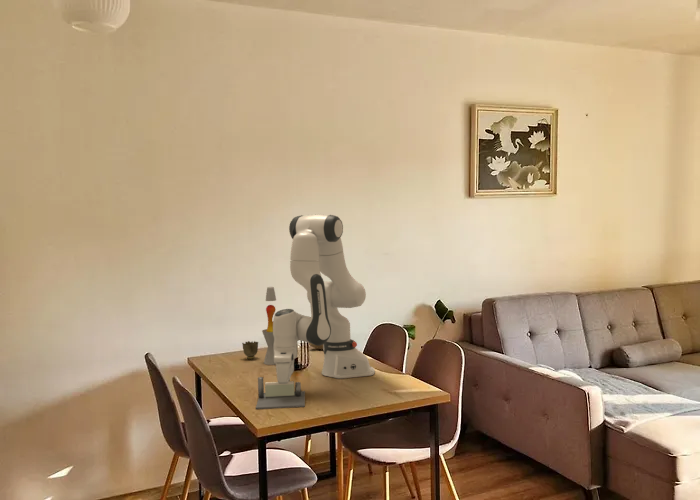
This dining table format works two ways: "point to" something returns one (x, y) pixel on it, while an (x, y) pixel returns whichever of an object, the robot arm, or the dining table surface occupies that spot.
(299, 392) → the posts
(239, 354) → the dining table surface
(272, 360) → the lava lamp
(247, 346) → the cup
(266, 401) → the yard mat
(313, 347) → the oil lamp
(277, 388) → the cream plank
